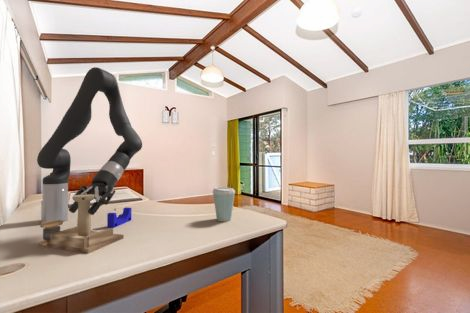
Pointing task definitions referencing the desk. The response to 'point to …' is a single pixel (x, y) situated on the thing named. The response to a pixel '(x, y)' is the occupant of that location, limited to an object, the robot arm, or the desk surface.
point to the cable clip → (118, 218)
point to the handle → (84, 213)
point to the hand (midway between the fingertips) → (80, 212)
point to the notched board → (90, 249)
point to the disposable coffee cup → (223, 202)
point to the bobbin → (49, 230)
